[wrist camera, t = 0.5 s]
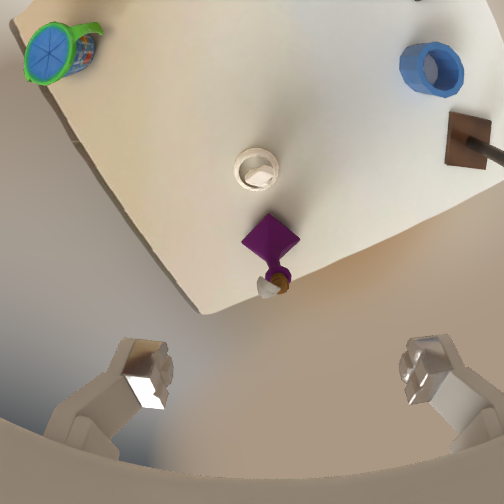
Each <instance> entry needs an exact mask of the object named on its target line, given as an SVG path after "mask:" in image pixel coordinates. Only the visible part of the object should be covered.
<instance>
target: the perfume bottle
mask: <svg viewBox="0 0 504 504" xmlns="http://www.w3.org/2000/svg"><path fill="white" fill-rule="evenodd" d="M299 241H300V238H299V237H298V236H297V235H295V234H294V233H293V232H292V231H290V230H289V229H288V228H287V227H286V226H284V225H283V224H282V223H281V222H279V221H278V220H277V219H276V218H275V217H273V216H272V215H271V214H267V215H266V216H265V217H264V219H263V220H262V221H261V222H260V223H259V224H258V225H257V226H256V227H255V228H254V229H253V230H252V231H251V232H250V233H249V234H248V235H247V236H246V237H245V238H244V239H243V240H242V241H241V243H242V244H243V245H245V246H246V247H247V248H249V249H250V250H251V251H253V252H254V253H255V254H257V255H258V256H259V257H261V258H262V259H263V260H265V261H266V262H267V265H268V267H269V270H268V271H267V272H266V274H265V279H264V278H263V277H261V276H260V277H259V278H258V281H257V289H258V293H259V295H260V296H261V297H262V298H265V299H268V298H270V297H273V296H274V295H276V294H283V293H285V292H286V291H287V290H288V289H289V283H290V282H291V273H290V272H289V270H288V269H287V268H285V267H283V266H281V265H280V261H279V259H280V258H282V257H283V256H284V255H285V254H286V253H287V252H288V251H289V250H290V249H291V248H292V247H293V246H294V245H296V244H297V243H298V242H299Z"/></svg>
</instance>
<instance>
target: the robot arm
mask: <svg viewBox="0 0 504 504" xmlns="http://www.w3.org/2000/svg"><path fill="white" fill-rule="evenodd" d="M406 347H407V351H406V352H405V353H403V354H402V356H401V359H400V364H399V371H400V376H401V380H403V381H404V382H405V383H406V384H407V385H406V388H405V393H406V396H407V399H408V403H409V405H411V404H418V403H424V402H430V404H431V405H432V406H433V407H434V408H435V409H436V410H437V411H438V412H439V414H440V415H441V416H442V417H443V418H444V419H445V420H446V421H447V422H448V423H449V424H450V425H451V426H452V427H453V428H454V429H455V431H456V432H457V433H459V435H458V436H457V437H456V438H455V439H454V440H453V441H452V442H451V444H450V450H451V454H448V455H445V456H442V457H438V458H435V459H431V460H427V461H423V462H419V463H414V464H410V465H406V466H401V467H396V468H391V469H385V470H380V471H374V472H368V473H360V474H353V475H345V476H335V477H323V478H308V479H238V478H223V477H211V476H202V475H193V474H185V473H178V472H172V471H166V470H160V469H155V468H149V467H144V466H140V465H135V464H130V463H126V462H122V461H118V458H119V454H120V452H119V450H118V449H117V448H116V447H115V446H114V444H113V443H112V442H111V441H110V439H111V438H112V437H113V436H114V435H115V434H116V433H117V432H118V431H119V430H120V429H121V428H122V427H123V426H124V425H125V424H126V423H127V422H128V421H129V420H130V419H131V418H132V417H133V416H134V415H135V414H136V413H137V412H138V411H139V410H140V409H141V408H142V407H150V408H159V409H164V408H165V405H166V401H167V397H168V391H167V389H166V387H167V386H168V385H169V384H171V382H172V378H173V361H172V359H171V357H170V356H169V355H168V354H167V352H168V347H167V344H166V342H162V341H152V340H143V339H134V338H123V339H122V340H121V342H120V343H119V345H118V348H117V350H116V352H115V355H114V357H113V359H112V361H111V364H110V366H109V368H108V370H107V372H106V373H101V374H100V375H99V376H97V377H96V378H95V379H93V380H92V381H90V382H89V383H88V384H86V385H85V386H84V387H82V388H81V389H79V390H78V391H77V392H75V393H74V394H73V395H71V396H70V397H68V398H67V399H66V400H64V401H63V402H62V403H60V404H59V405H58V406H56V407H55V410H54V412H53V414H52V416H51V418H50V421H49V423H48V425H47V427H46V430H45V432H44V434H43V436H40V435H38V434H35V433H33V432H31V431H28V430H26V429H24V428H21V427H19V426H17V425H15V424H12V423H10V422H8V421H6V420H4V419H2V418H0V504H504V393H502V392H501V391H500V390H498V389H497V388H496V387H495V386H493V385H492V384H491V383H489V382H488V381H487V380H485V379H484V378H482V377H481V376H480V375H479V374H477V373H476V372H475V371H473V370H472V369H470V368H469V367H465V366H464V364H463V362H462V359H461V357H460V355H459V353H458V351H457V349H456V347H455V345H454V343H453V341H452V339H451V337H450V336H449V335H448V334H442V335H435V336H434V335H433V336H425V337H417V338H410V339H409V340H408V342H407V345H406ZM141 406H142V407H141Z"/></svg>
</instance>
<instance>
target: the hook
mask: <svg viewBox="0 0 504 504" xmlns="http://www.w3.org/2000/svg"><path fill="white" fill-rule="evenodd" d="M251 156H261V157H263V158H265V159H267V160H268V161H269V162H270V164H271V165H272V167H271V166H268V165H262V166H261V167H259V168H258V169H256V168H252V169H250V170H249V171H248V173H247V174H246V175H245V182H246V183H248V184H251V185H254V186H258V187H259V188H253V187H249V186H247V185H246V184H244V183H243V182H242V180H241V179H240V176H239V167H240V165H241V163H242V162H243V161H244V160H245V159H246V158H248V157H251ZM234 175H235V178H236V180H237V181H238V183H239V184H240V185H241V186H243V187H244V188H246V189H248V190H251V191H262V190H265V189H267V188H269V187H270V186H272V185H273V184H274V183H275V181H276V180H277V178H278V175H279V165H278V162H277V160H276V158H275V157H274V155H272V154H271V153H270V152H269V151H267V150H265V149H261V148H251V149H248V150H245V151H244V152H242V153H241V154H240V155H239V156H238V157H237V159H236V160H235V163H234ZM271 178H272V179H271Z"/></svg>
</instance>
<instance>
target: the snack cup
mask: <svg viewBox="0 0 504 504" xmlns="http://www.w3.org/2000/svg"><path fill="white" fill-rule="evenodd" d="M88 33H98V34H100V35H103V30H102V28H101V26H100V24H99V23H98V22H93V23H86V24H80V25H76V26H72V27H69V26H67V25H66V24H63V23H57V22H50V23H49V24H46V25H44V26H42V27H41V28H40V29H38V30H37V31H36V32H35V34H34V35H33V36H32V38H31V39H30V41H29V43H28V45H27V48H26V51H25V57H24V65H25V67H24V74H25V78H26V80H27V81H28V82H35V83H36V84H40V85H44V86H45V85H50V84H51V83H54V82H56V81H58V80H60V79H61V78H63V77H66V76H68V75H71V74H74V73H76V72H79V71H81V70H83V69H84V68H85V67H87V65H88V64H89V63H91V61H92V60H93V55H94V50H95V45H94V41H93V39H92V38H91V37H90V36H89V35H87V34H88Z"/></svg>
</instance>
